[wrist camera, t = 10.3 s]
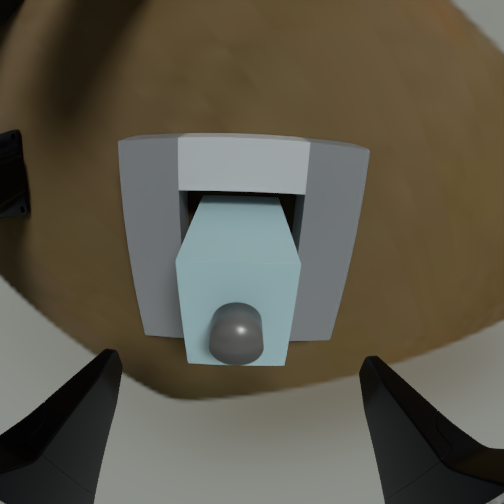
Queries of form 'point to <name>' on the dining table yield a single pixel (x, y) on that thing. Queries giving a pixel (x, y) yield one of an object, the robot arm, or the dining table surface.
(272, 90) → the dining table surface
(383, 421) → the robot arm
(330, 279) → the socket block
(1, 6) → the coffee jar
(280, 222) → the plug
